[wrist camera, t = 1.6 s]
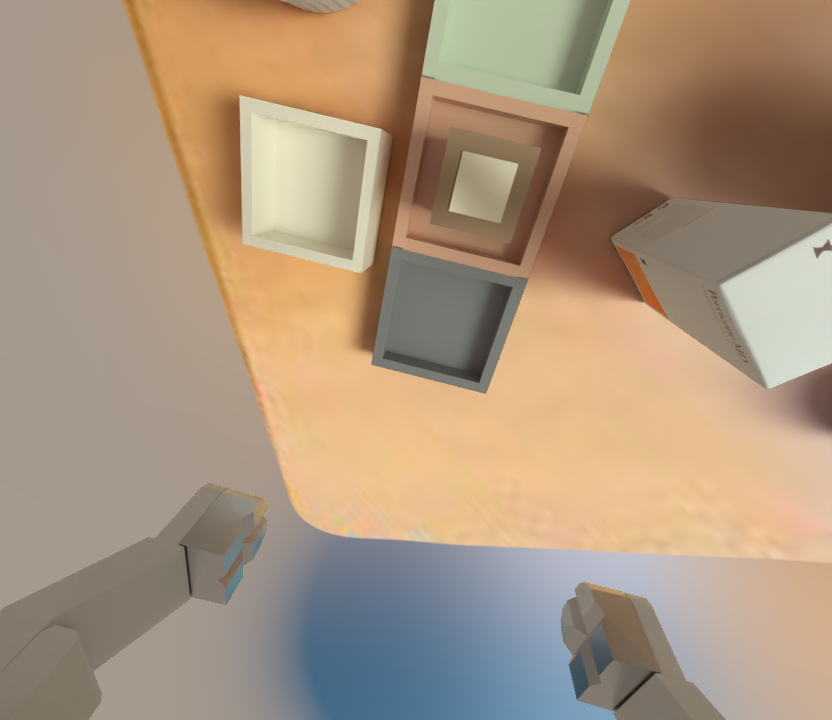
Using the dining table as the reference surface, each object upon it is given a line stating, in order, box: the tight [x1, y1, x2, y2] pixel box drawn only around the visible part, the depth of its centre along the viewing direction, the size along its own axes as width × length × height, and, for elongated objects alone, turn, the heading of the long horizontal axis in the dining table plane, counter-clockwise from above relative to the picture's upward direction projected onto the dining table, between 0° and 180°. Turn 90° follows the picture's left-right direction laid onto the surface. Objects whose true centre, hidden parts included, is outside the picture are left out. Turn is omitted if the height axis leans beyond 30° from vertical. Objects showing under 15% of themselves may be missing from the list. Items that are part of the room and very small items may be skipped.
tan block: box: [430, 127, 542, 244], centre depth 21 cm, size 4×5×6 cm
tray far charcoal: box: [371, 245, 528, 394], centre depth 27 cm, size 10×10×2 cm
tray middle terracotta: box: [392, 75, 588, 280], centre depth 23 cm, size 10×10×2 cm
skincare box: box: [611, 198, 832, 389], centre depth 19 cm, size 6×4×12 cm
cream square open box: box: [239, 95, 393, 273], centre depth 24 cm, size 8×8×4 cm
